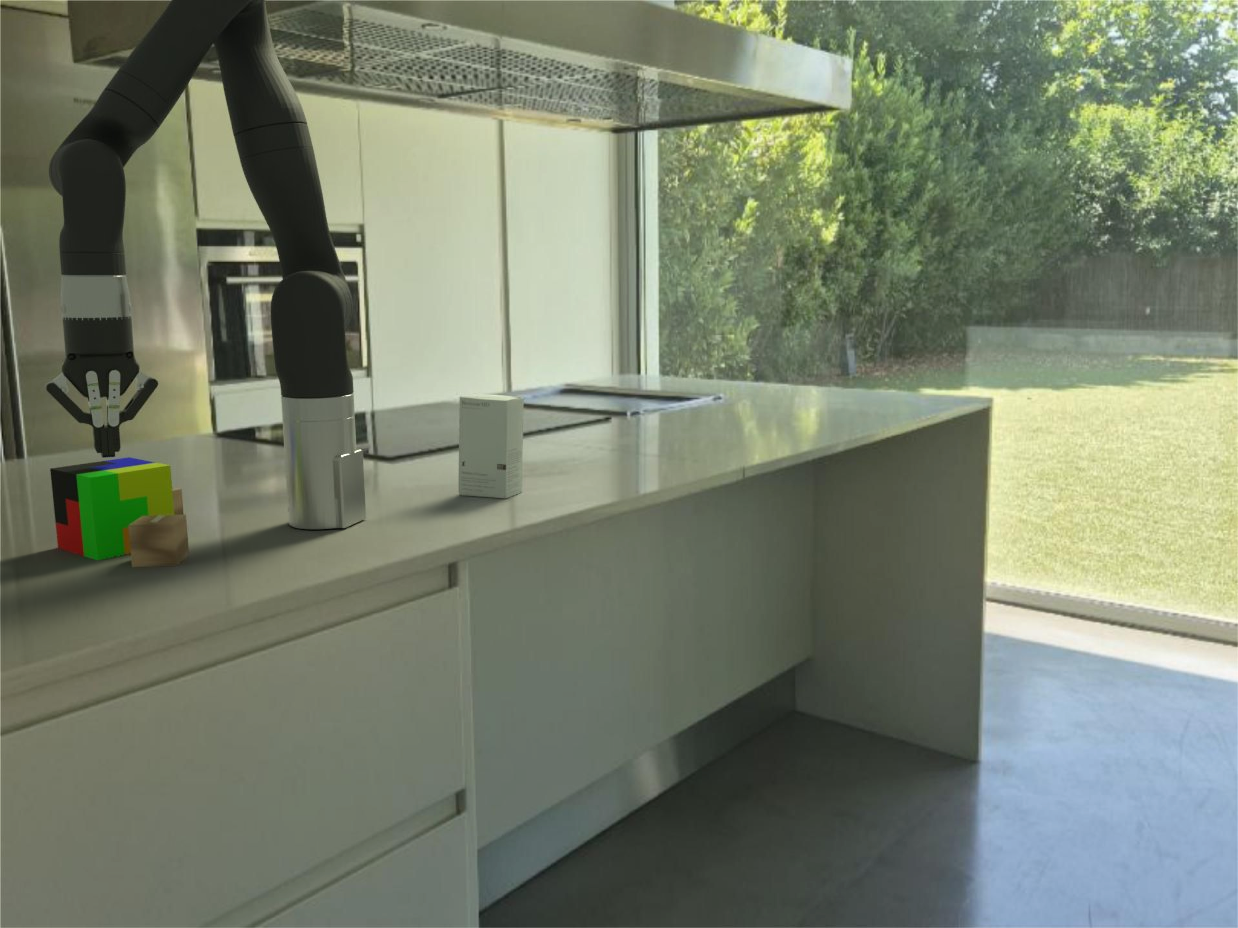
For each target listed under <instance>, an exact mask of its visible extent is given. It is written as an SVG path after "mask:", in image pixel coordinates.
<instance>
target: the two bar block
mask: <svg viewBox="0 0 1238 928" xmlns="http://www.w3.org/2000/svg"><path fill="white" fill-rule="evenodd" d="M182 490H183V489H182V488H177V487H172V492H173V505H174V515H185V513H184V505H183V504H184V502H183V491H182Z"/></svg>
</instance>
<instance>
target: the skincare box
mask: <svg viewBox="0 0 1238 928" xmlns="http://www.w3.org/2000/svg"><path fill="white" fill-rule="evenodd" d="M524 400H525V398H524V397H522V396H513V395H501V394H487V393H486V394H485V393H475V394H474V393H473V394H467V395H461V396H459V409H458V410H459V412H458V413H459V418H458V419H459V420H458V425H459V426H458V427H459V428H458V431H459V432H458V495H459V496H463V497H464V496H468V497H477V498H478V497H481V498H496V499H509V498H511V497H514V496H516V494H517V495H519V494H521V493H522V492H523V456H524V454H523V453H524V452H523V449H524V447H523V446H524V406H525V405H524V403H525V402H524Z"/></svg>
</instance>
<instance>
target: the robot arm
mask: <svg viewBox="0 0 1238 928" xmlns="http://www.w3.org/2000/svg"><path fill="white" fill-rule="evenodd" d="M266 2H267V1H266V0H171V1H170V2H169V4H168V5H167V6H166V8H165V9H164V11H163V12H162V14H161V15H160V17H158V19H157V20H156V21H155V22H154V24H153V26H152V27H150V29H149V31H148V32H147V33H146V34H145V35H144V36H143V38H142V39H141V40H140V42H139V43H138V44H137V45H136V46H135V48H134V49H133V50H132V52H131V53H130V54H129V55H128V56H127V58H126V59H125V61H124V62H123V63H122V64H121V66H120V67H119V68H118V70H117V71H116V72H115V73H114V75H113V77H112V78H111V79H110V81H109V82H108V83H107V85H106V87H104V89H103V90H102V91H101V93H100V94H99V97H98V98H97V100H96V102H95V103H94V105H93V106H92V108H91V110H90V111H89V112H88V113H87V115H85V116H84V117H83V118H82V119H81V121H80V122H79V123H78V124H77V125H76V126H75V127H74V128H73V130H72V131H71V132H70V133H69V134H68V135H67V137H66V138H65V139H64V140H63V141H62V142H61V144H60V145H59V147H58V148H57V149H56V151H55V152H54V153H53V155H52V157H51V160H50V161H49V165H48V166H49V167H48V176H49V180H50V183H51V185H52V187H53V189H54V190H55V191H56V193H58V194H59V195H60V196H61V197H62V213H63V226H62V228H61V231H59V232H60V233H59V241H58V244H59V247H58V248H59V261H60V262H59V263H60V274H61V282H60V283H61V284H60V285H61V287H60V304H61V305H60V306H61V307H60V309H61V310H60V311H61V315H62V327H63V341H64V342H63V343H64V351H65V352H64V353H65V354H64V355H65V359H64V362H63V365H62V367H61V373H60V374H58V375H57V376H56V377H55V378H53V379H52V380H50V381H47V382H46V383H45V385H44V388H45V389H46V390H45V391H47V393H49V394H50V395H51V396H52V398H54V399H55V400H56V401H57V403H58V404H60V406H62V408H64V410H65V411H66V412H68V414H70V415H71V416H72V417H73V418H74V420H76V421H77V422H78V423H79V424H86V425H89V426H91V427H92V434H93V448H94V450H95V452H96V453H97V454H100V456H101V458H102V459H103V458H114V457H116V453H118V452H120V451H121V436H120V426H121V425H122V424H123V423H126V422H128V421H132V420H133V419H135V417H136V416H137V414H138V413H139V412H140V410H141V409H142V408H143V407H144V405H145V404H146V402H147V401H148V400H149V399H150V397H151V396H152V394H154V391H155V390H156V389H157V387H158V386H159V381H158V380H157V379H156V378H154V377H152V376H148V375H147V374H146V373H145V372H143V371H141V370H140V364H139V363H138V361H137V359H136V357H135V350H134V349H135V348H134V337H133V323H132V311H133V310H132V309H133V307H132V303H131V296H130V289H129V284H128V281H127V280H128V279H127V267H126V254H125V245H124V239H123V237H124V235H123V234H124V224H125V223H124V222H125V214H126V213H125V212H126V211H125V209H126V197H127V196H126V195H127V193H126V192H127V189H126V188H127V186H126V174H125V169H124V167H126V165H127V163H128V162H129V160H130V159H131V158H132V156H133V155H134V154H135V153H136V151H137V150H138V149H139V148H140V147H142V146H143V145H145V144H146V143H147V142H149V140H150V139H151V138H152V137H153V136H155V134H156V133H157V131H158V130H159V129H160V127H161V126H162V124H163V122H164V121H165V120H166V118H167V117H168V116H169V114H170V112H172V110H173V108H174V107H175V105H176V104H177V102H178V101H179V99H181V96H182V95H183V93H184V91H185V90H186V88H187V87H188V86H189V84H190V81H191V80H192V78H193V77H194V75H195V73H196V72H197V69H198V68H199V67H200V65H201V63H202V61H203V60H204V58H205V56H206V55H207V54H208V53H209V51H210V49H211V48H212V47H214V50H215V54H216V56H217V60H218V65H219V71H220V75H221V76H220V77H221V82H222V86H223V87H222V88H223V93H224V98H225V101H226V106H227V110H228V115H229V120H230V125H231V130H232V134H233V137H234V143H235V145H236V150H237V154H238V158H239V162H240V165H241V168H242V172H243V174H244V178H245V180H246V182H247V185H248V188H249V190H250V192H251V194H252V196H253V198H254V200H255V203H256V204H257V206H258V209H259V211H260V212H261V215H262V216H263V218H264V220H265V221H266V224H267V226H268V229H269V230H270V233H271V235H272V238H273V241H274V244H275V247H276V251H277V256H278V257H277V258H278V260H279V266H280V273H281V277H282V279H281V280H280V282H278V283H277V285H276V286H275V288H274V290H273V293H272V296H271V299H270V327H271V339H272V340H271V341H272V348H273V349H272V350H273V360H274V361H273V362H274V367H275V368H274V369H275V373H276V375H277V379H278V381H279V384H280V385H279V386H280V395H281V396H280V398H281V399H280V401H281V415H282V417H281V418H282V433H283V447H284V449H283V450H284V463H285V466H284V467H285V481H286V484H285V485H286V497H287V512H288V524H289V526H290V527H292V528H296V529H300V530H301V529H302V530H329V529H345V528H349V527H350V526H353V525H354V524H357V523H359V522H361V521H363V520H366V519H367V511H366V510H367V509H366V489H365V487H366V486H365V470H364V469H365V468H364V451H363V450H362V449H360V448H357V439H356V436H357V435H356V419H355V418H356V416H355V415H356V414H355V413H356V412H355V395H354V392H355V391H354V379H353V377H354V376H353V373H352V371H351V368H350V365H349V362H348V356H347V340H346V338H347V337H346V329H347V327H348V326H349V325H350V322H351V320H352V318H353V313H354V301H353V300H354V299H353V295H352V293H351V290H350V288H349V285H348V282H347V279H346V277H345V274H344V270H343V269H342V265H341V263H340V259H339V256H338V254H337V251H336V248H335V245H334V242H333V239H332V236H331V233H330V228H329V224H328V217H327V214H326V213H327V212H326V207H325V206H326V205H325V199H324V195H323V194H324V193H323V189H322V185H321V180H320V174H319V169H318V165H317V159H316V155H315V149H314V146H313V143H312V138H311V133H310V130H309V129H310V128H309V126H308V122H307V118H306V115H305V112H304V109H303V106H302V103H301V101H300V99H299V97H298V95H297V93H296V91H295V89H294V87H293V85H292V83H291V81H290V79H289V78H288V75H287V74H286V72H285V70H284V69H283V66H282V64H281V63H280V60H279V58H278V55H277V53H276V50H275V47H274V43H273V39H272V33H271V28H270V23H269V18H268V10H267V4H266ZM135 379H136V381H135V386H134V387H135V388H136V389H137V390H136V392H135V393H134V395H133V396H132V397H131V399H130V400H129V401H128V403H127V404H126V405H125V407H124V408H123V409H122V410H120V407H121V404H120V403H121V397H122V395H124V394H125V393H126V392H127V390H128V389H129V387H130V386H131V384H132V383H133V381H134V380H135ZM67 381H68V382H70V384H71V385H72V386H73V387H74V388H75V389H76V390H77V391H78V393H80V394H81V396H83V397H84V398H86V399H87V404H88V409H89V412H86V411H84V410H83V409H81V407H79V406H78V404H77V403H75V402H74V400H73V399H71V398H70V397H69V396H68V395H67V394H68V393H69V392H70V388H69V385H68V384H67ZM101 398H105V404H106V405H105V408H106V412H105V413H106V414H105V415H106V416H105V417H106V420H105V419H104V414H103V408H102V407H103V406H102V400H101ZM105 421H106V424H105Z"/></svg>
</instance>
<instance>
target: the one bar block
mask: <svg viewBox="0 0 1238 928" xmlns="http://www.w3.org/2000/svg"><path fill="white" fill-rule="evenodd" d="M187 525H188V523H187V514H184V515H152V516H142V517H140V518H139V519H137V520H136V521H134V522H133V523H131V524H130V525H128V528H129V539H130V550H131V554H130V559H131V561H130V562H131V567H132V568H140V567H141V568H142V567H144V568H146V567H147V568H149V567H172V566H174V567H175V566H178V565H179V564H181V562H182V561H184V560H185V559H186V558H187V557H189V555H190V550H189V549H190V548H189V537H188V535H189V534H188V526H187ZM184 558H185V559H184Z"/></svg>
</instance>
